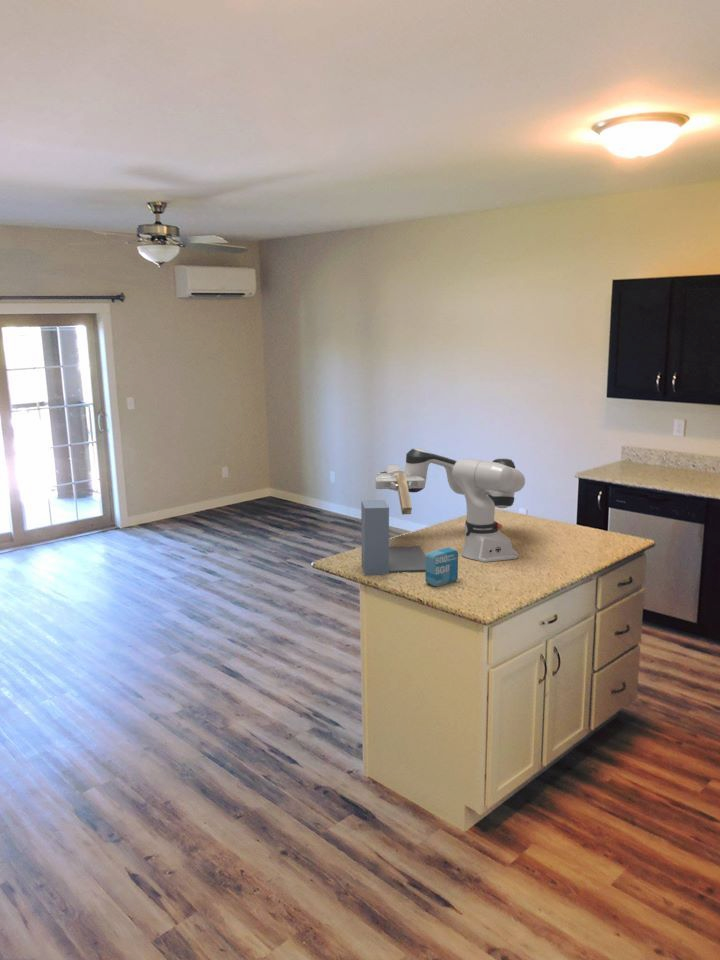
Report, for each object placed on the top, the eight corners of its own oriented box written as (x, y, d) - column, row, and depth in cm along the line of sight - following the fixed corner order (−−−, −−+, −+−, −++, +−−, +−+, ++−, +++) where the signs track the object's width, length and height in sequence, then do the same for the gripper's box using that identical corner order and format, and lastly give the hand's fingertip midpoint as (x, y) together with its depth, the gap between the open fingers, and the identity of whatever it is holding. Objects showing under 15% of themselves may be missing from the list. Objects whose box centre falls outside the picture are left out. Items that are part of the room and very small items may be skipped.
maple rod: (404, 479, 304) (405, 473, 302) (411, 514, 290) (411, 507, 287) (395, 479, 304) (396, 473, 302) (402, 514, 289) (402, 507, 287)
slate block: (384, 564, 293) (384, 500, 288) (388, 574, 282) (389, 507, 276) (361, 565, 292) (361, 500, 287) (364, 575, 281) (364, 508, 275)
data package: (433, 587, 268) (433, 555, 266) (425, 584, 272) (425, 552, 269) (457, 580, 275) (458, 549, 272) (449, 577, 279) (450, 546, 276)
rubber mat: (419, 548, 314) (419, 545, 314) (433, 571, 285) (433, 569, 285) (379, 549, 312) (379, 547, 312) (389, 573, 283) (389, 570, 283)
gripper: (422, 486, 313) (428, 494, 299) (373, 487, 311) (377, 495, 298) (422, 471, 312) (428, 478, 298) (373, 472, 310) (377, 479, 296)
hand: (402, 487), depth 298 cm, fingers closed on maple rod, 3 cm apart
